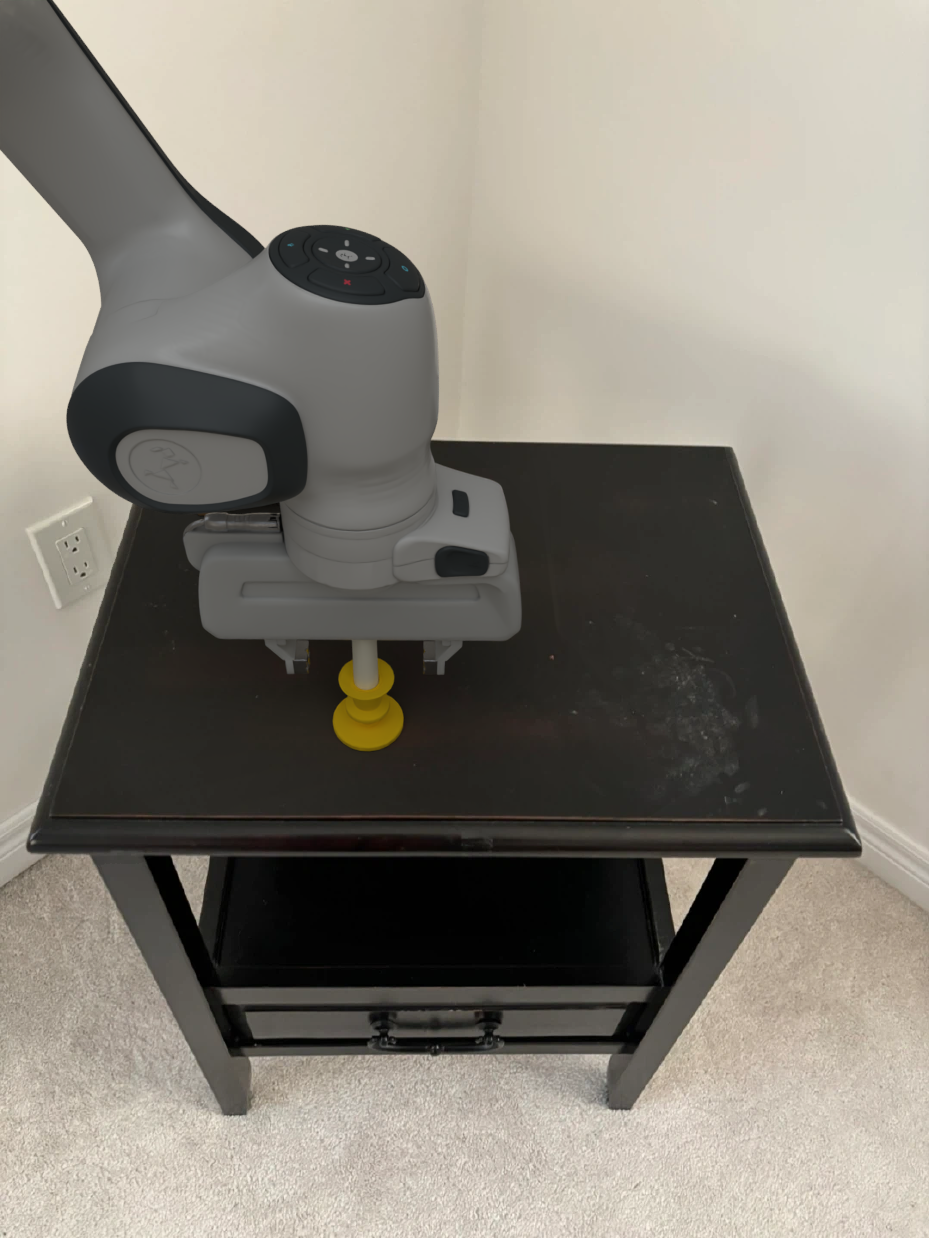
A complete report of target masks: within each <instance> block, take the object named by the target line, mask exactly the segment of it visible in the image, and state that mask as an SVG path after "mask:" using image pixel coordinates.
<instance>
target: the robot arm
mask: <svg viewBox="0 0 929 1238" xmlns="http://www.w3.org/2000/svg"><path fill="white" fill-rule="evenodd" d="M0 151H1V152H2V154H3V155H4V156H5V157H6V158H7V159H8V160H9V162H10V163H11V164H12V165H13V166H14V167H15V168H16V170H17V171H18V172H19V173H20V174H21V175H22V177H24V178H25V179H26V181H27V182H28V183H29V184H30V185H31V186H32V187H33V189H34V190H35V191H36V192H37V193H38V194H39V195H40V196H41V198H42V199H43V200H44V201H45V202H46V204H48V205H49V207H50V208H51V209H52V210H53V211H54V212H55V214H56V215H58V217H59V218H60V219H61V220H62V222H63V223H64V224H65V225H66V226H67V227H68V228H69V229H70V230H71V232H72V233H73V234H74V235H75V236H76V237H77V238H78V240H79V241H80V242H81V243H82V245H83V246H84V248H85V249H86V251H87V252H88V255H89V257H90V259H91V261H92V264H93V267H94V269H95V274H96V277H97V281H98V282H97V283H98V287H99V293H100V308H99V311H98V314H97V317H96V321H95V323H94V327H93V329H92V333H91V335H90V336H89V338H88V341H87V343H86V346H85V349H84V351H83V355H82V358H81V360H80V364H79V367H78V370H77V373H76V376H75V380H74V384H73V385H72V386H73V387H72V390H71V394H70V398H69V400H68V403H67V408H66V417H65V418H66V419H65V422H66V423H65V424H66V430H67V434H68V438H69V440H70V444H71V445H72V448H73V450H74V451H75V453H76V455H77V457H78V458H79V460H80V461H81V463H82V464H83V465H84V466H85V468H86V469H87V470H88V472H89V473H90V474H91V475H92V476H93V477H94V478H95V479H96V480H97V481H98V482H99V483H100V484H102V485H103V486H104V487H105V488H106V489H108V490H109V491H110V492H112V493H113V494H115V495H116V496H118V497H120V498H122V500H125V501H127V502H129V503H130V504H133V505H136V506H137V507H139V508H142V509H146V510H148V511H152V512H157V513H162V514H167V515H168V514H169V515H198V514H202V513H209V514H206V515H205V516H203V518H201V519H198V520H194V521H192V522H191V523H189V524H188V525H187V526H186V527H185V529H184V531H183V533H182V542H183V546H184V550H185V554H186V557H187V560H188V562H189V564H190V565H191V566H192V567H193V568H194V569H195V570H197V571H199V575H198V576H199V577H198V607H199V615H200V616H199V617H200V621H201V626H202V628H203V629H204V630H205V631H206V632H208V633H209V634H211V636H214V638H216V639H219V640H264V645H265V647H267V648H268V649H269V650H270V651H272V652H273V653H274V654H275V655H276V656H277V657H279V658H280V659H281V660H282V661H284V662H285V663H284V664H285V669H286V674H287V675H309V674H310V665H311V650H310V649H311V648H310V641H311V640H312V641H319V640H320V641H352V640H377V641H423V644H422V647H423V648H422V675H426V676H427V675H428V676H429V675H431V676H435V675H436V676H444V675H445V668H446V666H445V665H446V662H448V660H449V659H451V658H452V657H453V656H454V655H455V654H456V653H457V652H458V651H459V650H460V649H462V648H463V642H464V641H465V642H468V641H469V642H505V641H508V640H510V639H512V637H514V636H515V635H517V634H518V633H519V632H520V631H521V628H522V619H523V607H522V606H523V605H522V594H521V593H522V591H521V583H520V582H521V580H520V570H519V562H518V555H517V548H516V541H515V539H514V534H513V533H512V531H511V523H510V522H511V521H510V514H509V509H508V504H507V500H506V496H505V494H504V493H505V492H504V490H503V487H502V485H501V484H500V483H499V482H497V481H495V480H492V479H490V478H486V477H483V476H479V475H476V474H472V473H468V472H464V471H461V470H457V469H454V468H451V467H448V466H445V465H442V464H439V463H437V462H435V459H434V456H433V453H432V449H431V444H432V443H431V442H432V439H433V436H434V434H435V432H436V429H437V424H438V420H439V412H440V409H439V408H440V359H439V357H440V356H439V340H438V327H437V320H436V314H435V308H434V304H433V300H432V297H431V293H430V291H429V288H428V285H427V284H426V282H425V279H424V277H423V275H422V273H421V272H420V270H419V268H418V267H417V266H416V265H415V264H414V263H413V261H412V260H411V259H410V258H409V257H408V256H407V255H406V254H405V253H403V252H402V251H401V250H399V249H398V248H397V247H396V246H394V245H393V244H390V243H389V242H387V241H384V240H383V239H381V238H380V237H378V236H377V235H373V234H372V233H368V232H366V231H363V230H359V229H357V228H352V227H348V226H343V225H336V224H312V225H302V226H301V225H300V226H296V227H292V228H289V229H287V230H285V231H282V232H280V233H278V234H277V235H275V236H274V237H273V238H272V239H271V240H270V241H269V243H268V244H267V245H266V246H264V245H263V244H262V242H260V241H259V240H258V239H257V238H256V237H255V235H253V234H252V233H251V232H249V230H247V229H246V228H245V227H243V226H242V225H241V224H240V223H239V222H237V221H236V220H235V219H233V218H232V217H230V216H229V215H228V214H227V213H225V211H223V210H221V209H220V208H218V207H217V206H216V205H214V204H213V203H212V202H211V201H209V199H207V198H206V197H205V196H203V194H202V193H200V192H199V191H198V190H197V189H196V188H195V187H194V186H193V185H192V184H191V183H190V182H189V181H188V180H187V179H186V177H185V176H183V174H182V172H181V171H180V170H179V169H178V168H177V167H176V166H175V164H174V163H173V162H172V160H171V159H170V158H169V156H168V155H167V153H166V152H165V151H164V150H163V148H162V147H161V145H160V144H159V142H157V140H156V138H155V137H154V136H153V135H152V134H151V132H150V130H149V129H148V127H147V126H146V125H145V124H144V122H143V121H142V119H141V118H140V116H139V115H138V114H137V112H136V111H135V110H134V108H133V107H132V106H131V105H130V103H129V102H128V100H127V99H126V97H125V96H124V95H123V94H122V92H121V91H120V90H119V88H118V87H117V85H116V84H115V82H114V81H113V80H112V78H111V77H110V76H109V74H108V73H107V71H106V70H105V69H104V67H103V66H102V65H101V64H100V61H98V59H97V58H96V57H95V55H94V53H93V52H92V51H91V50H90V48H89V47H88V45H87V44H86V42H85V41H84V39H82V37H81V36H80V35H79V33H78V32H77V31H76V29H75V28H74V26H73V25H72V24H71V22H70V21H69V20H68V19H67V17H66V16H65V14H64V13H63V11H62V10H61V9H60V8H59V6H58V5H57V4H56V2H55V1H54V0H0ZM278 503H279V508H280V509H279V510H280V512H251V513H242V514H241V513H240V514H239V513H237V514H236V513H228V512H230V511H239V510H245V509H252V508H259V507H265V506H269V505H273V504H278Z"/></svg>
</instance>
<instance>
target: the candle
mask: <svg viewBox="0 0 929 1238" xmlns="http://www.w3.org/2000/svg"><path fill="white" fill-rule="evenodd" d="M351 647H352V648H351V653H352V659H351V660H350V661H348V662H346V663H344V665H343V666H342V667H341V669H340V671H339V673H338V684H339V687H340V689H341V691H342V692H343V693H344V694H345V695H347V696H346V697H345V698H343V699H342V700H341V701H340V702H339V704H338V705H337V706H336V708H335V710H334V712H333V716H332V726H333V732H334V733H335V735H336V738H337V739H338V740H339V741H340V742H341V743H342V744H343V745H344V746H346V747H348V748H350V749H353V750H355V751H359V752H373V751H379V750H382V749H384V748H386V747H389V746H390V745H392V744H393V743H394V742H396V741H397V739H398V738H399V737H400V735H401V733H402V731H403V729H404V721H405V719H404V717H405V716H404V713H403V709H402V707H401V706H400V704H399V702H398V701H396V700H395V698H393V696H390V695H388V693H389V691H390V690H391V689H392V687H393V685H394V682H395V674H394V670H393V668H392V667H391V665H390V664H389V663H388V662H386V661H385V660H383V659H381V658H379V656H378V640H351Z"/></svg>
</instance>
